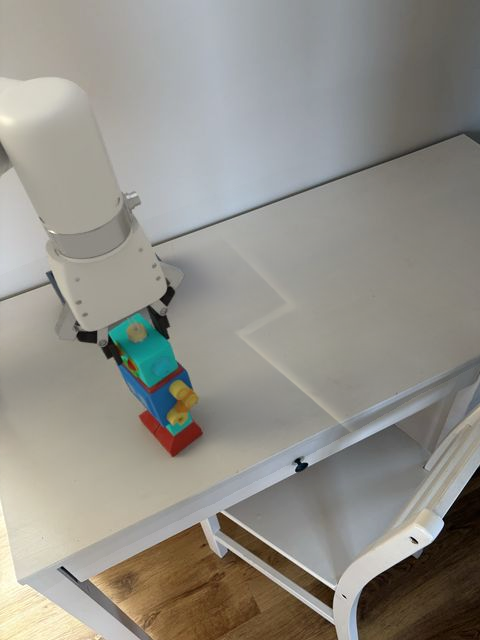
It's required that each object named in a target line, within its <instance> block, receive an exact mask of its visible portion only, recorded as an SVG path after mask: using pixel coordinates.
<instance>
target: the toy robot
mask: <svg viewBox="0 0 480 640" xmlns="http://www.w3.org/2000/svg"><path fill="white" fill-rule="evenodd" d="M125 318H126V320H125V321H123V322H121V323H120V324H118V325H117V326H115V327H114V328H111V330H108V334H109V335H110V337H111V338H112V340H113V341H114V343H115V345H116V347H117V349H118V351H119V354H120V356H121V358H122V360H123V363H122V364H121V365H119V366H118V364H117V363H116V361H115V360H114V361H115V364H116V366H117V368H118V370H119V371H120V374H121V376H122V377H123V380H124V382H125V384H126V387H127V388H128V389H129V391H130V392H131V393H132V395H133V396H135V398H136V399H137V400H138V401H139V402H140V403H141V405H143V407H144V408H145V409H146V410H144V411H142V413H140V414H139V415H138V417H139V420H140V421H141V423H142V424H143V425H144V427H146V428H147V430H148V431H149V432H150V433H151V434H152V435H153V437H154V438H155V439H156V440H157V441H158V443H160V444H161V446H162V447H163V448H164V450H166V451H167V452H168V453H169V455H170V457H172V458H174V457H175V456H177V455H178V454H179V453H180V452H181V451H183V450H184V449H185V448H187V447H188V446H189V445H190V444H192V443H193V442H194V441H195V440H197V439H198V438H200V437H201V436H202V435H203V430H202V428H201V426H200V425H198V424H197V422H196V421H195V420H194V419H193V418H192V416H191V413H190V412H191V411H190V410H191V408H193V407H194V406H195V405H197V404H198V401H199V398H200V397H199V395H198V394H197V393H196V392H195V391H194V387H193V384H192V381H191V379H190V375H189V372H188V370H187V369H186V368H185V367H184V366H183V365H182V364H181V363H180V362H179V361H178V360H177V359H176V356H175V353H174V350H173V346H172V344H171V342H170V341H169V340H166V339H165V338H164V337H163V336H162V335H161V334H160V333H159V332H158V331H157V330H156V329H155V327H154V326H153V324H152V323H150V322H149V321H148V320H147V319H146V318H145V317H144V316H143V315H142V314H140V313H139V312H137V313H135V314H134V315H132V314H130V315H129V317H128V316H126V317H125Z"/></svg>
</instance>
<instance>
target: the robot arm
mask: <svg viewBox="0 0 480 640" xmlns="http://www.w3.org/2000/svg"><path fill="white" fill-rule="evenodd" d="M11 169H13V170H14V171H15V174H16V176H17V178H18V179H19V181H20V183H21V185H22V187H23V189H24V191H25V193H26V195H27V197H28V199H29V200H30V203H31V205H32V207H33V209H34V211H35V213H36V215H37V216H38V218H39V220H40V222H41V223H40V224H41V225H42V228H43V229H44V232H45V233H46V235H47V237H48V240H47V241H46V243H45V252H46V257H47V261H48V264H49V267H50V271H51V270H52V273H53V275H54V278H55V280H56V282H57V285H58V287H59V289H60V291H61V293H62V296H63V298H64V300H65V302H66V303H65V305H64V306H62V307H63V308H62V309H61V312H60V315H59V317H58V320H57V322H56V324H55V327H54V328H53V329H54V330H53V331H54V333H55V335H56V336H57V338H58V339H59V340H62V341H78V342H80V343H86V344H95V345H97V346H98V347H99V348H100V349H101V351H102V353H103V355H104V356H105V358H106V360H111V359H112V358H113V360H114V361H116V362H115V364H116V363H117V364H118V366H119V365H121V364H122V363H123V360H122V358H121V356H120V354H119V351H118V349H117V347H116V345H115V343H114V341H113V340H112V338H111V337H110V335H109V333H108V332H109V326H110V325H112V324H114V323H117V322H119V321H120V320H122V319H124V318H127V317H128V316H130V315H132V314H134V313H136V312H138V311H140V310H142V309H144V308H146V310H147V313H148V315H149V317H150V320H151V324H152V326H153V327H154V328H155V329H156V330H157V331H158V332H159V333H160V334H161V335H162V336H163V337H164V338H165V339H166V340H167V341H169V340H170V339H171V337H170V335H169V331H168V329H169V328H171V324H170V322H169V317H168V315H167V314H168V313H169V308H168V306H169V305H170V303H171V302H172V299H173V298H174V296H175V295H176V289H178V288H179V286H180V285H181V283H182V282H183V280H184V278H185V273H184V272H183V271H182V270H181V269H180V268H179V267H178V266H175V265H172V264H169V263H167V262H164V261H162V262H161V261H158V259H157V257H156V255H155V253H156V251H155V250H154V248H153V246H152V244H151V241H150V240H149V238H148V236H147V234H146V232H145V230H144V228H143V227H142V225H141V223H140V222H139V220H138V219H137V217H136V215H135V214H134V212H133V210H135V208H136V207H138V206H140V205H142V202H141V199H140V196H139V194H138V193H137V191H135V190H132V191H131V192H125V193H124V192H123V191H122V190H121V187H120V184H119V181H118V179H117V175H116V172H115V169H114V167H113V163H112V160H111V157H110V154H109V152H108V148H107V145H106V143H105V140H104V137H103V134H102V131H101V128H100V125H99V121H98V119H97V115H96V113H95V110H94V108H93V105H92V102H91V100H90V98H89V95H88V94H87V93H86V91H85V90H84V89H83V88H82V87H81V86H80V85H79V84H77V83H76V82H74V81H72V80H70V79H67V78H63V77H59V76H43V77H36V78H31V79H28V80H21V79H16V78H10V77H5V76H0V178H1V177H2V176H3V175H4V174H6V173H7V172H8V171H10V170H11ZM126 316H127V317H126ZM76 320H77V321H78V323H79V324H77V325H75V322H76ZM117 364H116V365H117ZM118 366H117V367H118Z"/></svg>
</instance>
